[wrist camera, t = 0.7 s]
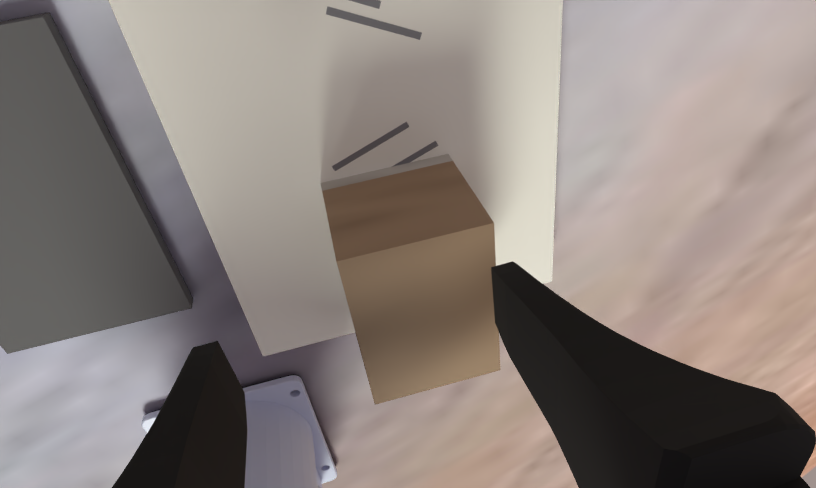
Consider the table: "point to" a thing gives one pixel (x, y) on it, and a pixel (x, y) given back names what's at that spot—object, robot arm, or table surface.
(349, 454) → the table surface
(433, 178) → the block
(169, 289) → the mat
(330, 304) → the board
